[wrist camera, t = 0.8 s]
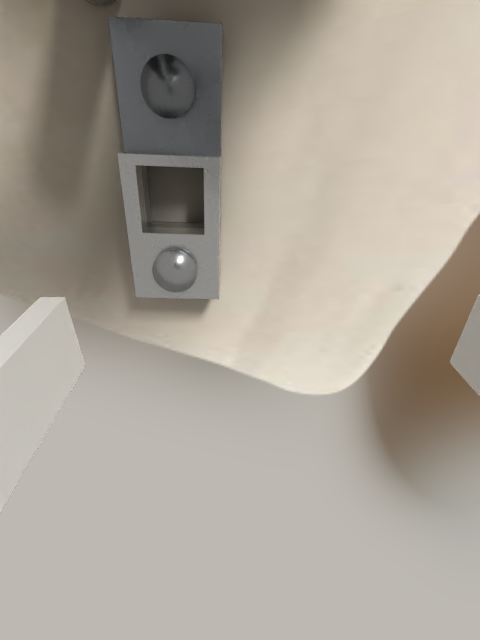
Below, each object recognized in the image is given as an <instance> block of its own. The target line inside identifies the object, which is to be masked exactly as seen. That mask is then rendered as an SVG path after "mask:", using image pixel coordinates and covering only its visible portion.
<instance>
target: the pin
mask: <svg viewBox="0 0 480 640" xmlns="http://www.w3.org/2000/svg"><path fill="white" fill-rule="evenodd" d="M87 1H89V2H90V3H92V4H95V5H99V6H105V5H109V4H111V3H113V2H114V1H115V0H87Z"/></svg>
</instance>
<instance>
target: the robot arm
mask: <svg viewBox="0 0 480 640" xmlns="http://www.w3.org/2000/svg"><path fill="white" fill-rule="evenodd" d="M450 363H451V364H452V366H453V367H454V368H455V369H456V370H457V371H458V372H459V373H460V375H461V376H462V377H463V378H464V379H465V380H466V381H467V383H468V384H469V385H470V386H471V387H472V388H473V389H474V391H475V392H476V393H477V394H478V395H479V396H480V295H478V297H477V299H476V301H475V304H474V306H473V309H472V311H471V313H470V316H469V318H468V320H467V323H466V325H465V327H464V330H463V332H462V334H461V337H460V339H459V342H458V344H457V346H456V349H455V351H454V353H453V356H452V358H451V361H450ZM85 366H86V365H85V362H84V359H83V356H82V352H81V349H80V345H79V342H78V339H77V336H76V332H75V329H74V326H73V322H72V319H71V316H70V312H69V309H68V306H67V303H66V299H65V297H40V298H39V299H38V300H37V301H36V302H34V303H33V304H32V305H31V306H30V307H29V308H28V309H27V310H26V311H25V312H24V313H23V314H22V315H21V316H20V317H19V318H18V319H17V320H16V321H15V322H14V323H13V324H12V325H10V326H9V327H8V328H7V329H6V330H5V331H4V332H3V333H2V334H1V335H0V513H1V511H2V509H3V507H4V506H5V504H6V502H7V501H8V499H9V497H10V496H11V494H12V492H13V490H14V489H15V487H16V485H17V483H18V482H19V480H20V478H21V477H22V475H23V473H24V471H25V470H26V468H27V466H28V464H29V463H30V461H31V459H32V458H33V456H34V454H35V452H36V451H37V449H38V447H39V446H40V444H41V442H42V440H43V439H44V437H45V435H46V433H47V432H48V430H49V428H50V426H51V425H52V423H53V421H54V420H55V418H56V416H57V414H58V413H59V411H60V409H61V407H62V406H63V404H64V402H65V401H66V399H67V397H68V395H69V394H70V392H71V390H72V388H73V387H74V385H75V383H76V382H77V380H78V378H79V377H80V375H81V373H82V371H83V370H84V368H85Z"/></svg>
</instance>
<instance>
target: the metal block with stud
mask: <svg viewBox="0 0 480 640" xmlns="http://www.w3.org/2000/svg"><path fill="white" fill-rule="evenodd" d="M108 21H109V29H110V37H111V46H112V54H113V62H114V71H115V79H116V87H117V96H118V104H119V113H120V121H121V129H122V138H123V146H124V152H120V153H117V156H118V163H119V171H120V179H121V187H122V194H123V202H124V210H125V218H126V225H127V233H128V241H129V249H130V256H131V264H132V272H133V279H134V287H135V295H136V297H141V298H184V299H219V287H220V208H221V112H222V23H206V22H189V21H172V20H155V19H138V18H122V17H108ZM147 166H167V167H192V168H204V223H178V222H152V220H151V209H150V198H149V187H148V176H147Z"/></svg>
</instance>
